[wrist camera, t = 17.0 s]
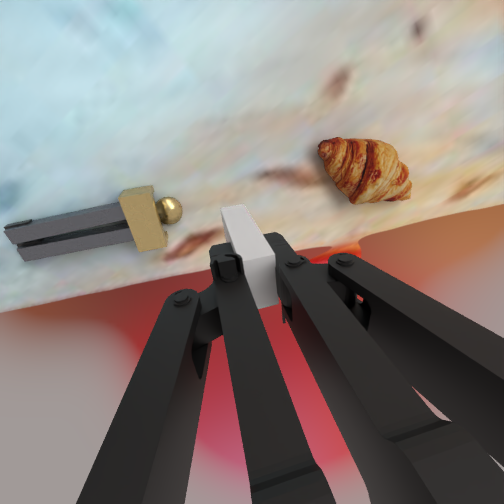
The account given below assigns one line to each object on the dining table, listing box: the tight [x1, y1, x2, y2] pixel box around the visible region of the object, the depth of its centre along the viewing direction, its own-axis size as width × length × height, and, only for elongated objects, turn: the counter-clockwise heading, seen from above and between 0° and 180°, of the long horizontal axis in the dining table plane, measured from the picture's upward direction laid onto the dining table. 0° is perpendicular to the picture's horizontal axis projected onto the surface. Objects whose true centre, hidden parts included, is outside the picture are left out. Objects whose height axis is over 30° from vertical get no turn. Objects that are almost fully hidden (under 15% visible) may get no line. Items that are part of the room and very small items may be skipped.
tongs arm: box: [4, 202, 126, 244], centre depth 36 cm, size 18×2×2 cm, turn 100°
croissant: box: [318, 137, 412, 205], centre depth 42 cm, size 21×10×8 cm, turn 66°
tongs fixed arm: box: [17, 197, 182, 261], centre depth 37 cm, size 23×5×2 cm, turn 97°
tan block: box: [118, 185, 168, 252], centre depth 37 cm, size 4×8×4 cm, turn 7°
